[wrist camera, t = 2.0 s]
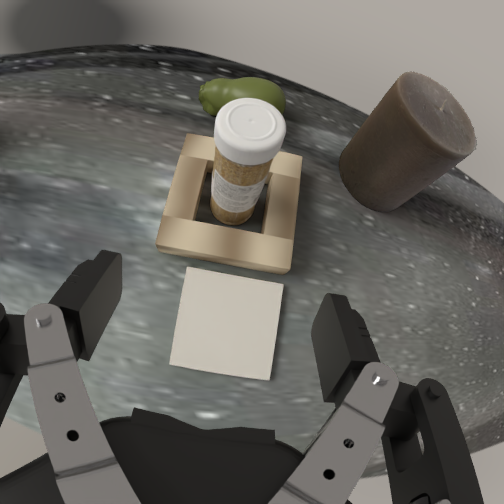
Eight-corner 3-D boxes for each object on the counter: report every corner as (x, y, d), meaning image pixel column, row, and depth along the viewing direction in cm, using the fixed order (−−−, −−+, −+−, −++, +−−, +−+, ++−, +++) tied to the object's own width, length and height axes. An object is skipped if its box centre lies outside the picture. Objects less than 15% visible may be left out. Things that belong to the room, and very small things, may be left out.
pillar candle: (327, 185, 33) (397, 99, 19) (351, 129, 36) (408, 48, 22) (397, 227, 34) (487, 170, 19) (411, 168, 37) (483, 105, 22)
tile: (170, 363, 26) (169, 364, 26) (187, 267, 29) (187, 266, 28) (268, 379, 27) (269, 380, 26) (281, 285, 30) (283, 284, 29)
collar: (158, 251, 29) (155, 243, 26) (187, 146, 32) (187, 133, 30) (283, 275, 30) (290, 269, 27) (295, 168, 33) (302, 156, 31)
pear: (280, 108, 29) (188, 92, 30) (277, 139, 34) (195, 123, 35) (292, 76, 30) (207, 62, 31) (288, 107, 35) (212, 93, 36)
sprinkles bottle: (228, 177, 32) (246, 85, 19) (263, 203, 32) (301, 121, 19) (199, 208, 30) (199, 121, 18) (235, 236, 30) (259, 163, 17)
